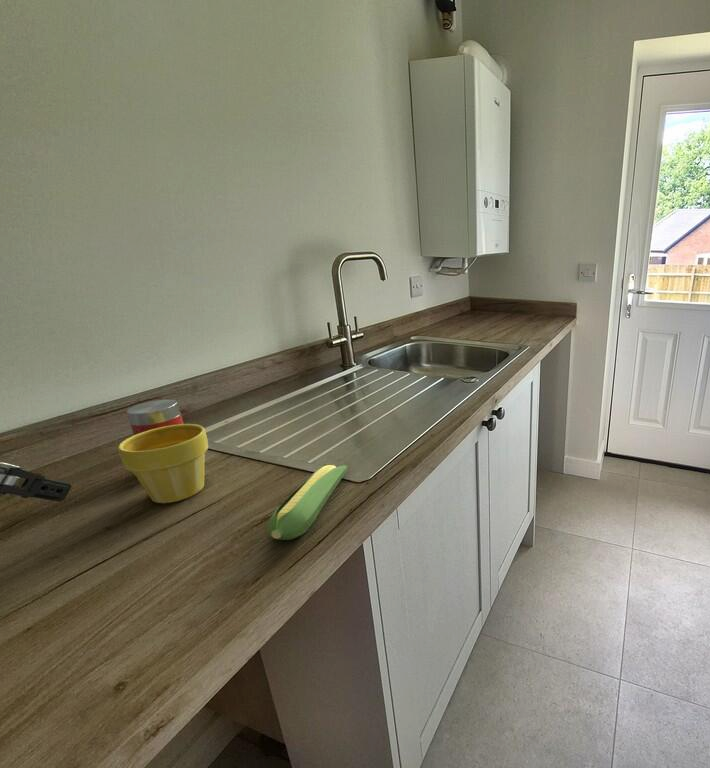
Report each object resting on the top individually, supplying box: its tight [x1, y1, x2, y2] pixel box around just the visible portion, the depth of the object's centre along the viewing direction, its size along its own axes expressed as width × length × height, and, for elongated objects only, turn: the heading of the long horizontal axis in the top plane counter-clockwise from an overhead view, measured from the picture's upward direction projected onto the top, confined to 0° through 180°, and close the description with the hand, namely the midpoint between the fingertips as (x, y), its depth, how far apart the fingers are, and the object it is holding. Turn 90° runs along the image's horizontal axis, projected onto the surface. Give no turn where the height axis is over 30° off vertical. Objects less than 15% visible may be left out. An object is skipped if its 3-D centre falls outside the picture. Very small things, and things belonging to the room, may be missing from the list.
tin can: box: [126, 399, 185, 436], centre depth 72 cm, size 7×7×12 cm
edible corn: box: [268, 460, 350, 541], centre depth 61 cm, size 5×20×5 cm, turn 179°
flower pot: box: [117, 423, 209, 504], centre depth 64 cm, size 10×10×10 cm
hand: (63, 492), depth 51 cm, fingers closed
